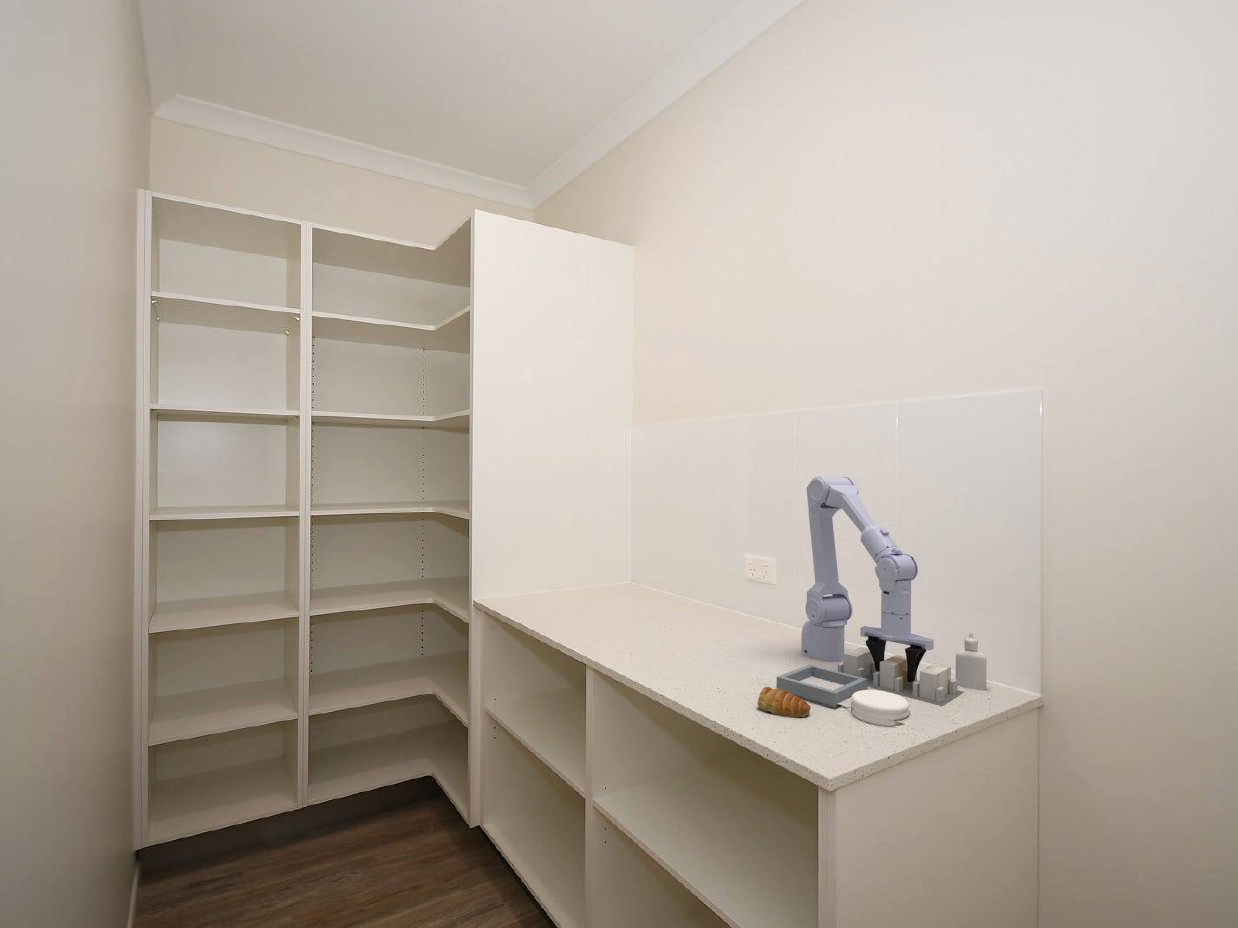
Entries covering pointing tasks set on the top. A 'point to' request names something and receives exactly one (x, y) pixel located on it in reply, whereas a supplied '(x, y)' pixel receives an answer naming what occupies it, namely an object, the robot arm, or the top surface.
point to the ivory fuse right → (934, 680)
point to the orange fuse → (893, 671)
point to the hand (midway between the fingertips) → (895, 677)
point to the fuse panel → (907, 687)
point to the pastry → (782, 703)
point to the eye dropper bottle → (971, 665)
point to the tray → (819, 694)
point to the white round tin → (879, 707)
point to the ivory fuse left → (857, 661)
